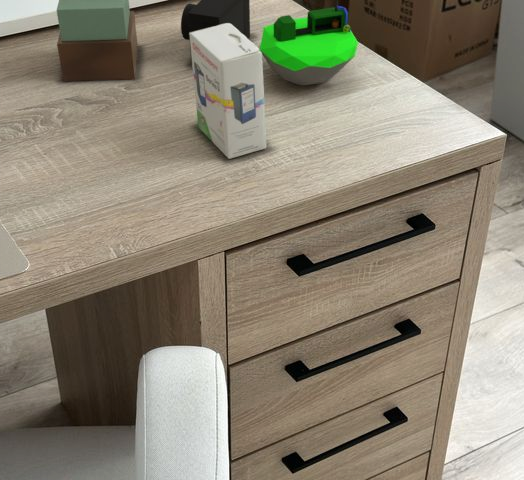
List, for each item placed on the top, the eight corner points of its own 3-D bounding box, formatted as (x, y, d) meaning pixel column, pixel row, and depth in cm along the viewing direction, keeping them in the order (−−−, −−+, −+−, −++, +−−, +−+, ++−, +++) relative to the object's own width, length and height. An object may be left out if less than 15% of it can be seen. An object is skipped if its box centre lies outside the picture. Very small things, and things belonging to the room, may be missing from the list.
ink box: (267, 150, 107) (266, 49, 99) (226, 161, 105) (221, 60, 97) (233, 116, 112) (230, 19, 104) (193, 127, 111) (187, 29, 103)
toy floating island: (333, 51, 125) (337, -33, 117) (368, 91, 117) (375, 3, 109) (246, 66, 122) (244, -20, 115) (276, 108, 114) (276, 18, 106)
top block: (61, 41, 116) (56, 9, 114) (67, 14, 122) (62, -17, 120) (127, 39, 117) (123, 7, 114) (130, 12, 123) (126, -19, 120)
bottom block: (63, 81, 119) (56, 43, 116) (69, 50, 126) (64, 13, 123) (135, 79, 120) (130, 41, 116) (137, 47, 126) (134, 10, 123)
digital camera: (213, 31, 130) (210, -20, 125) (250, 36, 128) (249, -15, 124) (182, 63, 123) (178, 10, 118) (221, 70, 121) (219, 16, 117)
